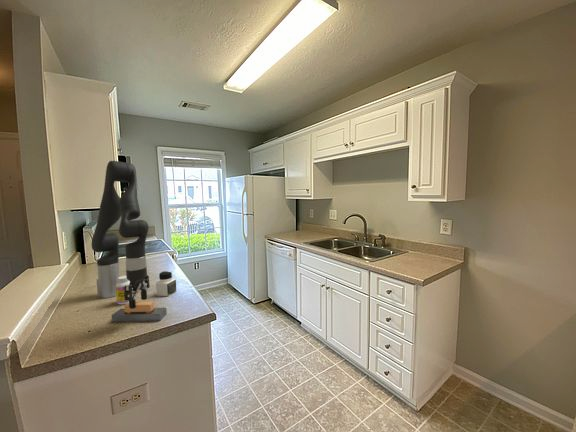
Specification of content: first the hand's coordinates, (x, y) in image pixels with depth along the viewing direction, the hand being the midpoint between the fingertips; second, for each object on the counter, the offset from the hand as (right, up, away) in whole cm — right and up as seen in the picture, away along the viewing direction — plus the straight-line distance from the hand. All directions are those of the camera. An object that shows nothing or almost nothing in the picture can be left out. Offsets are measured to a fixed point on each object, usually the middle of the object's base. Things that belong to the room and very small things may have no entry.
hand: (138, 303), depth 107 cm
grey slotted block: (0, -6, +1) cm, 6 cm away
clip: (0, -6, +1) cm, 6 cm away
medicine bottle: (-1, -4, +27) cm, 28 cm away
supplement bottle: (-17, -6, +17) cm, 25 cm away
